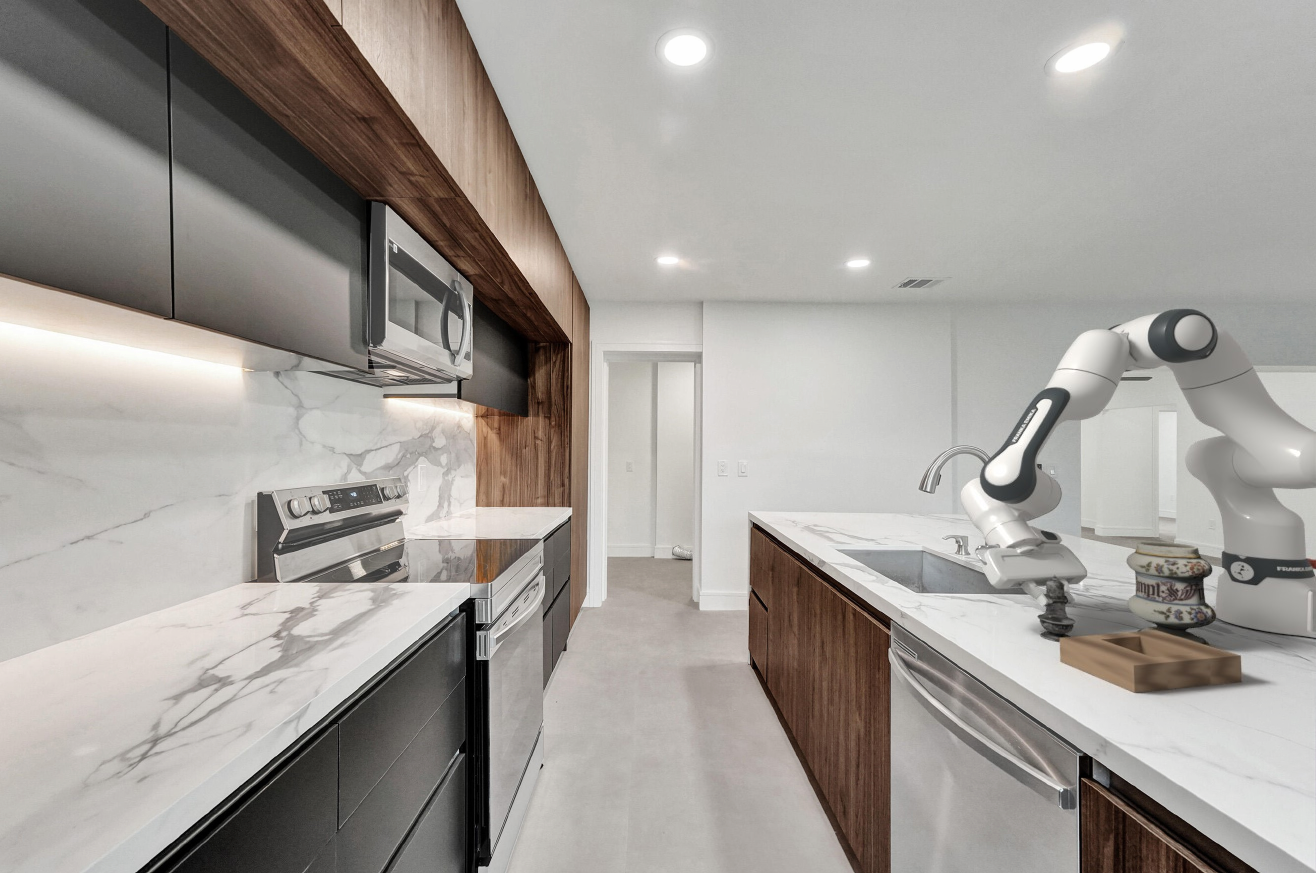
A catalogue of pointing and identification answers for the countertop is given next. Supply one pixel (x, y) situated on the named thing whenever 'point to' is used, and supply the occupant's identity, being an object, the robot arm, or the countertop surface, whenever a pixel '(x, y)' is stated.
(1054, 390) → the robot arm
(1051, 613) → the salt shaker
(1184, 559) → the apothecary jar
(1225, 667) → the wooden tray
